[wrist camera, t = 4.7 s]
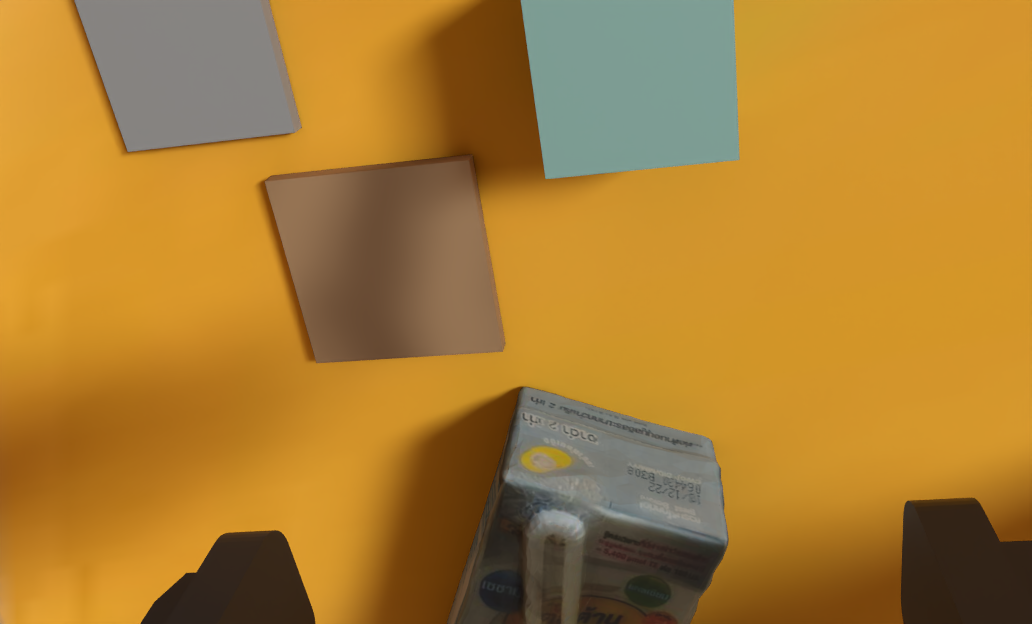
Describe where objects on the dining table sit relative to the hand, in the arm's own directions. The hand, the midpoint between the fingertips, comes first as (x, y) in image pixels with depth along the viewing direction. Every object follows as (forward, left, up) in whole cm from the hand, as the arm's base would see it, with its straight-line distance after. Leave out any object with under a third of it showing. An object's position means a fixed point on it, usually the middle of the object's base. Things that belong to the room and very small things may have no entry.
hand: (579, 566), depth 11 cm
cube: (-1, -3, -19) cm, 19 cm away
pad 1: (+13, -5, -18) cm, 23 cm away
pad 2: (+8, +3, -18) cm, 20 cm away
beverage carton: (+5, +18, -19) cm, 27 cm away
